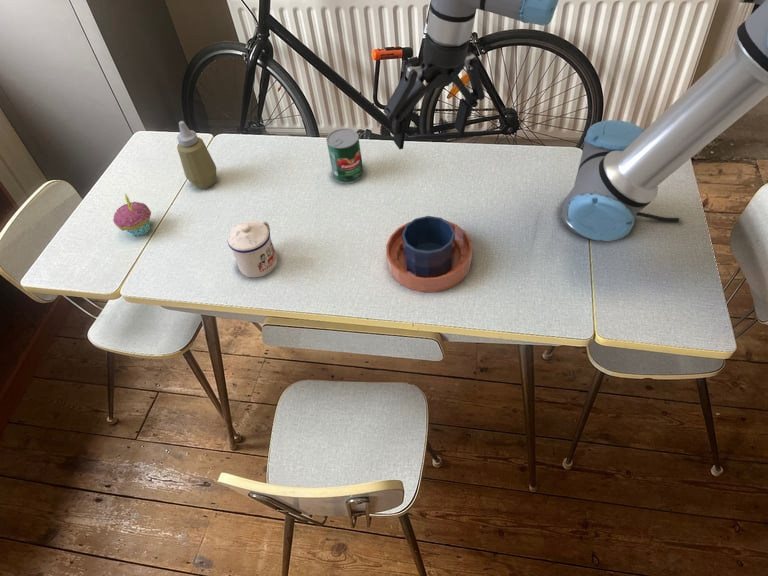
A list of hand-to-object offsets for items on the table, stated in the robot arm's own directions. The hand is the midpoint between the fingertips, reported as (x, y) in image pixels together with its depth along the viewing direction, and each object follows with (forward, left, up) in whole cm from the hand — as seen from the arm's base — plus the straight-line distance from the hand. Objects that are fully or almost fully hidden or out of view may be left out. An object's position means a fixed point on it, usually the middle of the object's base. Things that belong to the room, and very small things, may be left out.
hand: (429, 137), depth 114 cm
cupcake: (+69, +16, -25) cm, 75 cm away
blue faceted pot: (-2, +10, -24) cm, 26 cm away
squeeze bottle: (+62, -4, -25) cm, 67 cm away
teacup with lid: (+35, +18, -25) cm, 46 cm away
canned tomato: (+26, -15, -25) cm, 39 cm away
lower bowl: (-2, +10, -25) cm, 27 cm away
